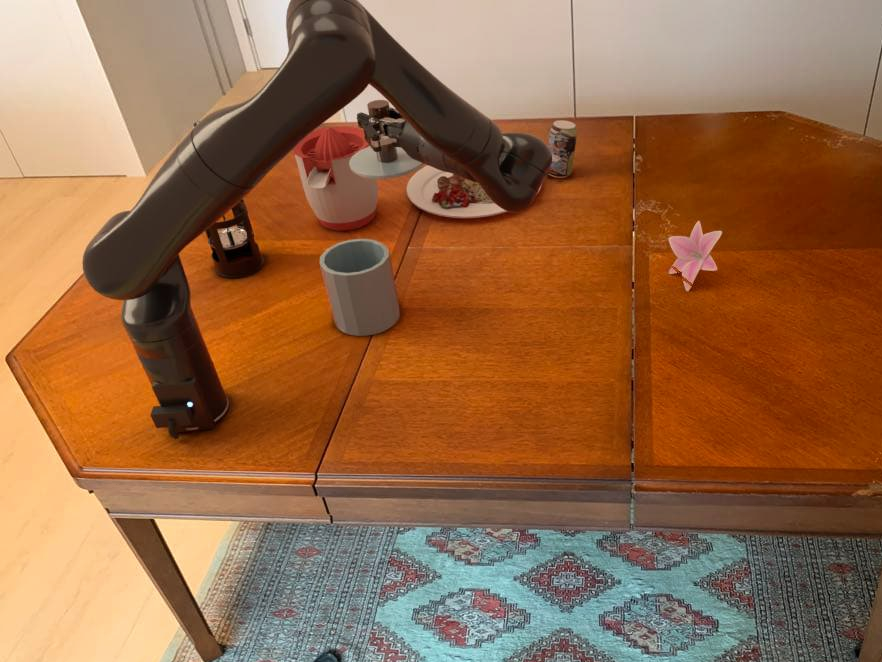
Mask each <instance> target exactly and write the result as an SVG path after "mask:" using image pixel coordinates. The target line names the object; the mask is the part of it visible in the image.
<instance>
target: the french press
mask: <svg viewBox="0 0 882 662" xmlns="http://www.w3.org/2000/svg"><path fill="white" fill-rule="evenodd" d="M231 212H232V215H233V218H231V219H226V216H225V215H224V216H223V217H222V220H223V221H217V222H216V223H214V224H213V225H212V226H211V227H210V228H208V229H207V230H206V231H205V232H204V233H205V235H206V237H207V243H208V245H209V246H210V249H211V251H212V252H211V259H212V262H213V264H214V271H215V274H217V276H219V277H221V278H223V279H231V280H232V279H234V280H235V279H242V278H245V277H248V276H252V275H254V274H256V273H257V272H258V271H260V270H261V269H262V268H263V266H264V264H265V259H264V257H263V255H262V253H261V250H260V247H259V244H258V243H257V242H256V240H255V233H254V231H253V227H252V224H251V220H250V218H249V217H250V216H249V211H248V207H247V205H246V203H245V200H244V198H243V199H242V200H241V201H240V202H239V203H238V204H237V205H235V206H234V207H233V208H232V209H231ZM241 256H242V257H243V256H247V257H248V256H249V257H248V258H245V259H242V260H240V261H235V262H229V260H231V259H233V258H236V257H241Z"/></svg>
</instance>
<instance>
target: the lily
mask: <svg viewBox="0 0 882 662" xmlns="http://www.w3.org/2000/svg"><path fill="white" fill-rule="evenodd" d="M722 235H723V230H713V231H710V232H707V233H703V229H702V224H701V221H700V220H697V221H696V223H695V224H694V227H692V230H691V233H690V235H689V236H684V235H672V236H669V237H668V243H669V246H670V248H671V250H672V252H673V253H674V255H675V256H676V259H675V261H674V262H673V264H672V265H671V267H672V266H674V267H676V268H677V269H678V270H679V271H680V272H681V277H682V276H683V277H684V278H686V279H687V280H688V281H689V282H691V283H692V285H693V284H694V281H695V280H696V277H697V275H698V274H699V271H700V270H702V271H708V272H709V271H712V272H714V271H718V267H717V265H716V262H715V261H714V258H713V257H712V255H711V254H710V253H711V251H712V250H713V248H714V247H715V245H716V244H717V242H718V241H719V239H720V238H721V236H722ZM671 267H670V268H669V270H668V274H669V275H673V274H677V272H676V271H675V270H674V269H673V268H671ZM680 272H679V273H680ZM682 283H683V286H684V289H685V291H686V292H689V291H690V289H691V288H692V286H690V285H689V284H688V283H686V282H685V281H683V280H682Z"/></svg>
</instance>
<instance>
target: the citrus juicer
mask: <svg viewBox="0 0 882 662" xmlns="http://www.w3.org/2000/svg"><path fill="white" fill-rule="evenodd" d="M367 147H370V145H369V144H368V143H367V142H366V140H365V135H364V130H363V128H360V127H353V126H340V125H339V126H327V127H323V128H319V129H315V130H313V131H312V132H311V133H309V134H308V135H307V136H306V137H305V138H304V139H303V140H302V141H301V142H299V143H298V144H297V145H296V146H295V147H294V149H293V150H292V151H291V152H292V153H293V154H294V156H295V160H296V165H297V168H298V172H299V176H300V181H301V184H302V189H303V191H304V194H305V198H306V200H307V203H308V204H309V206H310V208H311V210H312V211H313V214H314V216H315V217H316V219H317V220H318V221H319V223H320V224H321V225H322V226H323V227H325V228H326V229H329V230H333V231H349V230H350V231H351V230H358V229H360V228H361V227H364V226H365V225H366V226H367V224H369V223H371V222H372V221H373V220H374V219H375V216H376V213H377V208H378V198H379V185H378V179H370V178H365V177H361V176H358V175H356V174H355V173H353V172H352V171H351V169H350V166H349V161H350V159H351V157H352V156H353V155H354V154H355V153H357V152H358V151H360V150H362V149H365V148H367Z"/></svg>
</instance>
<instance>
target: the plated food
mask: <svg viewBox="0 0 882 662" xmlns="http://www.w3.org/2000/svg"><path fill="white" fill-rule="evenodd" d="M542 186H543V183H542V184H541V186H540V188H539V190H538V192H537V194H536V196H537V195H538V194H539V193H540V191H541V188H542ZM406 194H407V198H408V199H409V201H410V202H411V204H413V205H414V206H415V207H417V208H418V209H420V210H422V211H424V212H426V213H428V214H432V215H436V216H439V217H445V218H453V219H476V218H479V219H480V218H486V217H492V216H497V215H500V214H501V215H502V214H505V213H508V211H506V210H504V209H502V208H500V207H499V206H497V205H496V204H495V203H494V202H493V201H492V200H491V199H490V198H489V197H488V195H487V194H486V193H485V191H484V190H483V189H482V187H481V186H480V185H479V183H476V182H472V181H469V180H467V179H465V178H462V177H460V176H457V175H455V174H453V173H449V172H444V171H441V170H438V169H436V168H434V167H431V166H429V165H425V166H423V167H421V168H420V169H418V170H417V171H416V172H415V173H414V174H413V175H412V176H411V177H410V179H409V180H408V182H407V184H406Z"/></svg>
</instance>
